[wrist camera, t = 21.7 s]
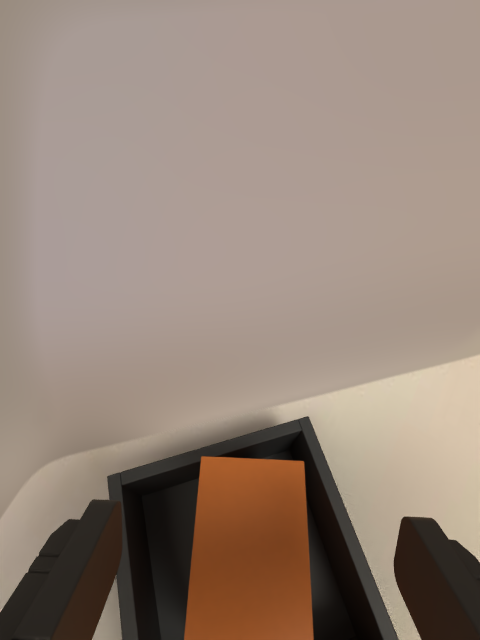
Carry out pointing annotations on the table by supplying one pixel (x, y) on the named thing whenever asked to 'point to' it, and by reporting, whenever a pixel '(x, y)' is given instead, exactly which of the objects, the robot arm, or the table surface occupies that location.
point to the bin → (178, 532)
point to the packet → (250, 552)
